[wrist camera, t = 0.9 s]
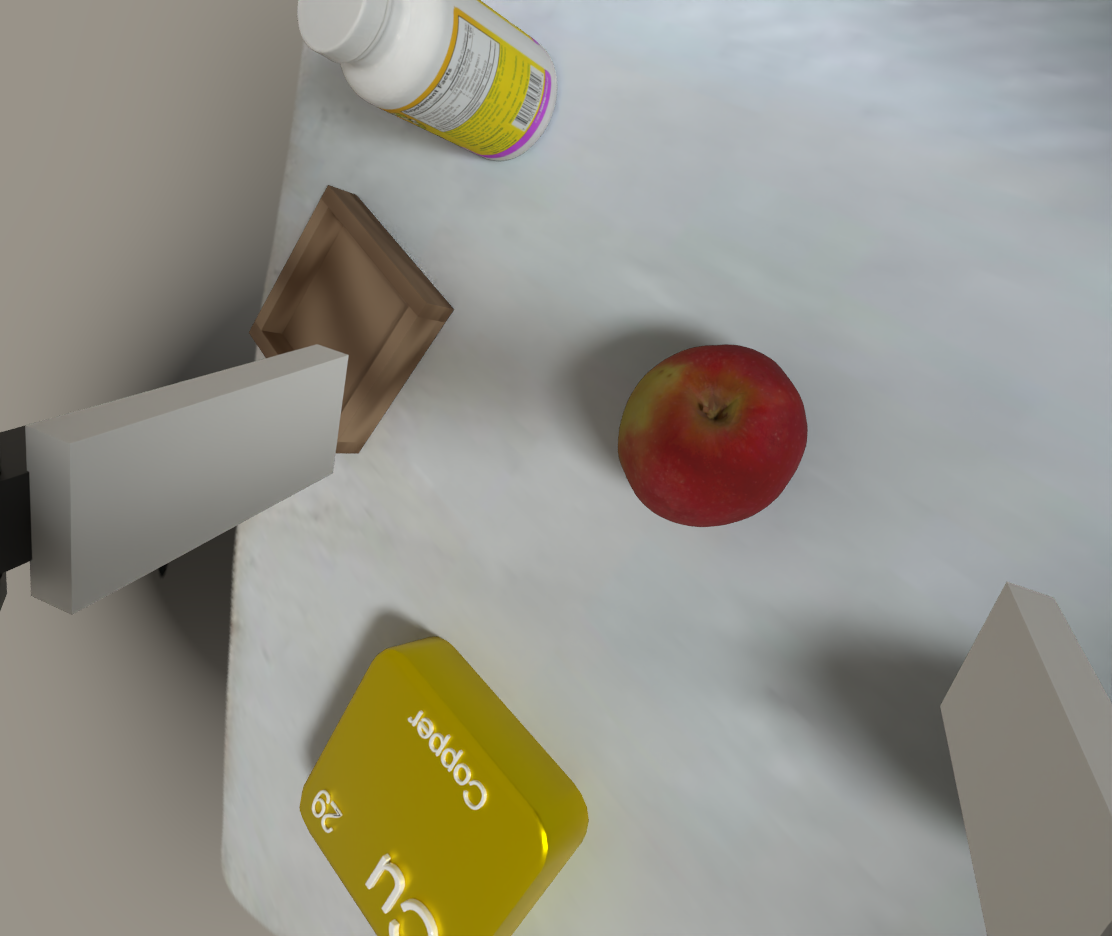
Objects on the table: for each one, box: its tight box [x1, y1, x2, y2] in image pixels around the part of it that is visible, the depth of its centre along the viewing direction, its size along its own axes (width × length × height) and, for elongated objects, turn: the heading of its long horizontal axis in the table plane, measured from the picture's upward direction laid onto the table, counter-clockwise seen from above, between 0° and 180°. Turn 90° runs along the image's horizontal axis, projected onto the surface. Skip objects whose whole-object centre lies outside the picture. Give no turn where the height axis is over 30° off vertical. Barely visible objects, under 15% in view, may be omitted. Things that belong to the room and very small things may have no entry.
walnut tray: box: [249, 185, 454, 453], centre depth 51 cm, size 12×12×2 cm
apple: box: [618, 345, 807, 527], centre depth 33 cm, size 8×8×8 cm
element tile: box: [300, 637, 589, 936], centre depth 46 cm, size 15×15×5 cm
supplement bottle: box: [297, 0, 557, 161], centre depth 39 cm, size 7×7×13 cm
